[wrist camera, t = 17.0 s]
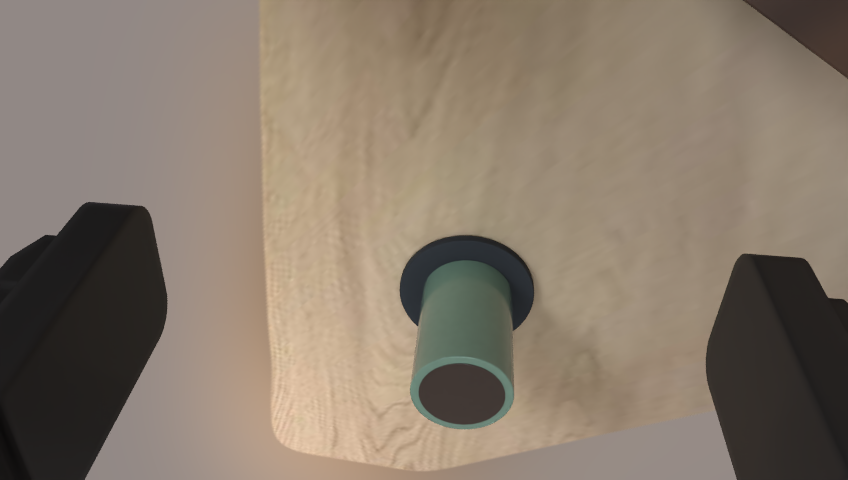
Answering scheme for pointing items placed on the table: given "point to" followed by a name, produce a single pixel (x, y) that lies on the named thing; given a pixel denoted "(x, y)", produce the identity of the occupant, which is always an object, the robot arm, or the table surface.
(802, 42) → the shelf
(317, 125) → the table surface
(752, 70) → the table surface
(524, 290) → the coaster
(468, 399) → the cup
